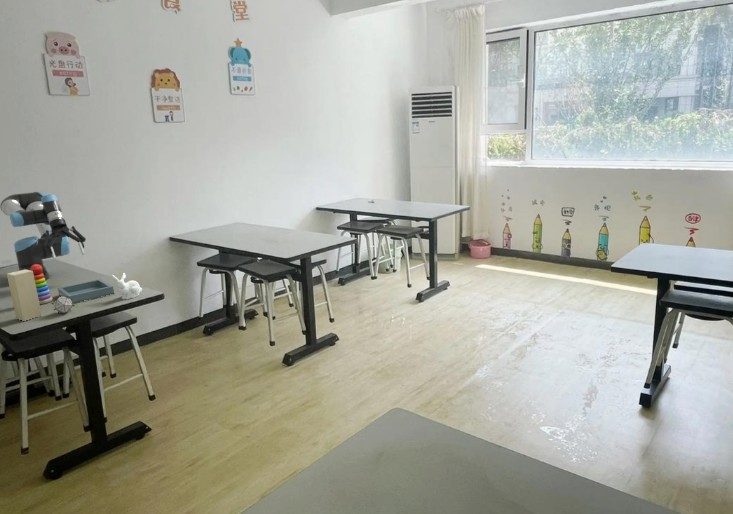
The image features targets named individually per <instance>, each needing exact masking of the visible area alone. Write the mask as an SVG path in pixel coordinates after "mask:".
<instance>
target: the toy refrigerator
mask: <svg viewBox="0 0 733 514" xmlns="http://www.w3.org/2000/svg"><path fill="white" fill-rule="evenodd" d="M6 277H7V280H8V281H7V282H8V286H9V291H10V297H11V300H12V304H13V309H14V314H15V319H16V320H17V319H19V320H18V321H20V320H22V321H21V322H23V321H24V322H27V321H26V320H28V321H30V320H29V319H31V320H33V319H32V318H34V319H36V318H35V317H38V316H41V317H42V311H41V306H40V305H41V304H39V300H38V295H37V290H36V285H35V280H34V275H33V271H30V270H21V271H19V270H18V271H13V272H8V273H7V274H6ZM38 318H39V317H38Z"/></svg>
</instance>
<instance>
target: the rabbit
mask: <svg viewBox="0 0 733 514" xmlns="http://www.w3.org/2000/svg"><path fill="white" fill-rule="evenodd" d="M111 277H112V278H113V280H114V281H116V287H117V291H118V294H120V295H122V297H121V299H122V300H130V299H134V298H136V297H138V296H139V295H140V294H141V293H142V292H143V288H142V287H141V286H140V284H139V282H137V281H136V280H128V281H127V282H125V279H126V278H127V275H126V273H125V272H123V274H122V275H121V277H120V279H119V278H118V277H116V276H115V275H114V274H112V276H111Z"/></svg>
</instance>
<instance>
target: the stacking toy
mask: <svg viewBox="0 0 733 514" xmlns="http://www.w3.org/2000/svg"><path fill="white" fill-rule="evenodd" d="M42 270H43V269H42V267H41V266H40V265H38V264H35V265H32V266H31V268H30V271H33V274H34V280H35V285H36V290H37V295H38V300H39V304H40V305H45V304H47V303H50V302H52V301H53V297H52V293H51V290H50V288H49V285H48V283H47V281H46V280H45V278H43V277H44V274H42V273H41V272H42Z"/></svg>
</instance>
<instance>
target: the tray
mask: <svg viewBox="0 0 733 514" xmlns="http://www.w3.org/2000/svg"><path fill="white" fill-rule="evenodd" d="M57 290H58V291H57V292H58V296H59V297H60V295H62V296H63V297H67V296H69V297H68V298H69V299H70V300H71V299H72V300H71V301H72V304H73V303H75V304H78V303H77V302H79V303H81V302H80V301H83V302H85V301H84V300H88V301H90V300H89V299H92V300H94V299H93V298H96V299H98V298H97V297H100V298H102V297H101V296H104V297H107V296H106V295H109V296H111V295H110V294H113V295H115V290H114V286H113V285H111V283H108V282H106V281H105V280H103V279H102V278H98V279H94V280H88V281H85V282H84V281H83V282H80V283H76V284H70V285H66V286H61V287H58V288H57ZM73 305H74V304H73Z"/></svg>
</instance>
